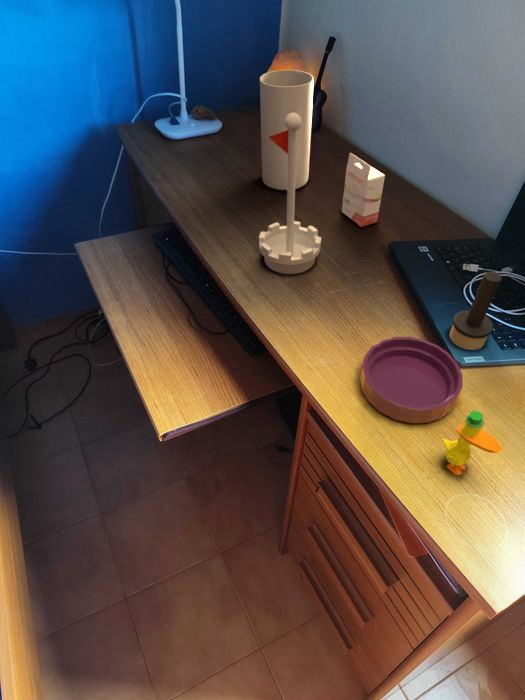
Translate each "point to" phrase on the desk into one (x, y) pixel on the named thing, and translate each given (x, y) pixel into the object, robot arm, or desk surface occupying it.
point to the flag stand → (289, 218)
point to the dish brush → (476, 316)
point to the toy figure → (469, 442)
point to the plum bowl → (410, 379)
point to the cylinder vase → (276, 103)
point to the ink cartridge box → (362, 191)
